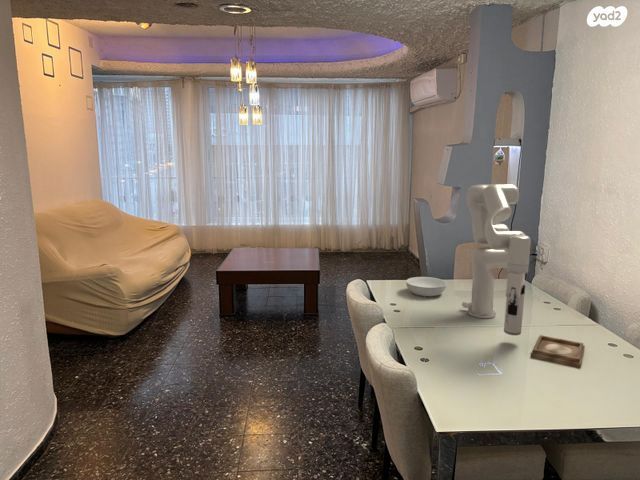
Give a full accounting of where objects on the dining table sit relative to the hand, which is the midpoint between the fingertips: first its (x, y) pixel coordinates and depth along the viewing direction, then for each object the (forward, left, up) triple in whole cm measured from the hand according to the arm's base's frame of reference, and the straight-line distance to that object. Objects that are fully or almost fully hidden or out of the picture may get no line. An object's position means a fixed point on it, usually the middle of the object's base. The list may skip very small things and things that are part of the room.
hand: (514, 311), depth 179 cm
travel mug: (0, 0, -9) cm, 9 cm away
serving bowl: (-52, +43, -14) cm, 69 cm away
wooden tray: (+16, -1, -13) cm, 21 cm away
